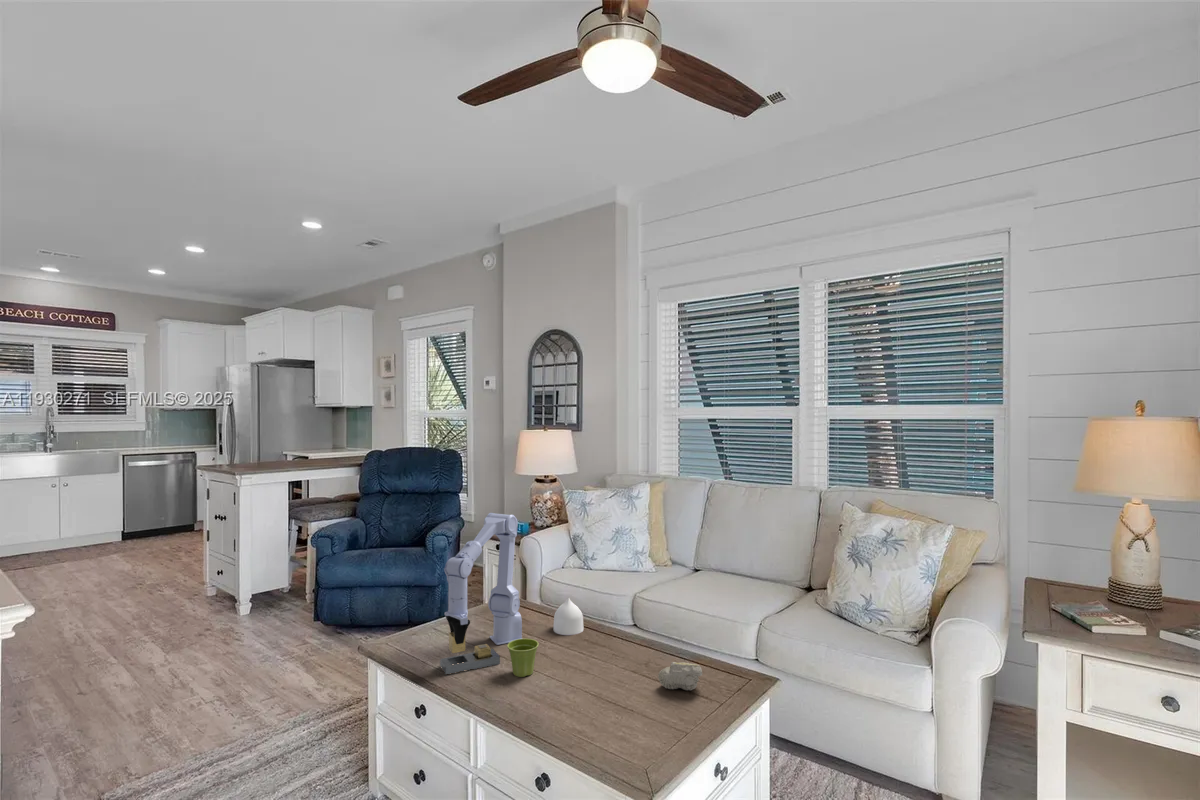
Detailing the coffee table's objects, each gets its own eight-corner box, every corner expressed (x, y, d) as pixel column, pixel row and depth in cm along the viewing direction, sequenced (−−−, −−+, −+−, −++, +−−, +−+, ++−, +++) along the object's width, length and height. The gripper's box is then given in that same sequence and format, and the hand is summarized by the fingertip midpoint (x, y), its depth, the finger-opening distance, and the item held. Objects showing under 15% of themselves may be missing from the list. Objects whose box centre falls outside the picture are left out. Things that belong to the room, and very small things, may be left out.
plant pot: (533, 681, 177) (533, 651, 177) (502, 678, 179) (502, 649, 179) (542, 667, 186) (542, 639, 186) (513, 665, 188) (513, 637, 188)
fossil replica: (654, 683, 177) (667, 701, 167) (653, 656, 176) (666, 673, 166) (692, 675, 180) (707, 693, 170) (691, 648, 179) (706, 665, 169)
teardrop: (566, 637, 211) (566, 603, 211) (547, 629, 219) (547, 596, 219) (589, 630, 219) (589, 597, 219) (570, 622, 227) (570, 590, 227)
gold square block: (461, 646, 189) (461, 629, 189) (465, 650, 185) (465, 633, 185) (449, 648, 187) (449, 631, 187) (452, 653, 183) (452, 636, 183)
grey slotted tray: (492, 656, 195) (492, 648, 195) (499, 664, 189) (499, 656, 189) (440, 666, 187) (440, 659, 187) (445, 675, 181) (446, 667, 181)
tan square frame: (486, 659, 193) (486, 643, 193) (490, 664, 189) (490, 647, 189) (474, 662, 191) (474, 645, 191) (478, 666, 187) (478, 649, 187)
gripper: (439, 592, 191) (438, 635, 191) (451, 605, 178) (451, 651, 178) (461, 589, 194) (460, 631, 194) (474, 601, 182) (474, 647, 181)
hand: (457, 640), depth 186 cm, fingers closed on gold square block, 4 cm apart
